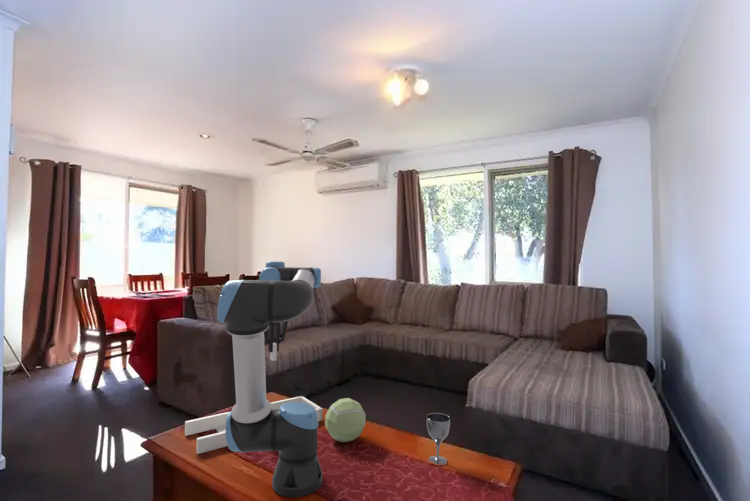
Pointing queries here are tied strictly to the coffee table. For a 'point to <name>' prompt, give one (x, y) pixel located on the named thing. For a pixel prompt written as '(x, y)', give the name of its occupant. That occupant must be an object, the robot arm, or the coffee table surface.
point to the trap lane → (220, 422)
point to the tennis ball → (345, 420)
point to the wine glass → (438, 433)
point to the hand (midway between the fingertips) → (273, 359)
